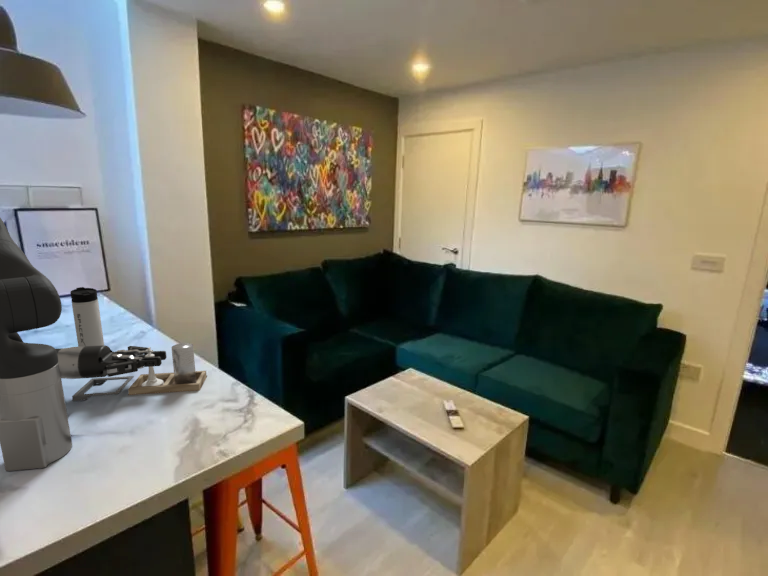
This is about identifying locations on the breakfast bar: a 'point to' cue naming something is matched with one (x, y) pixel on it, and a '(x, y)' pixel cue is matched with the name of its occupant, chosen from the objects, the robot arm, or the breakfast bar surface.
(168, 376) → the wooden divided tray
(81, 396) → the frame
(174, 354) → the steel peg
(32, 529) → the breakfast bar surface
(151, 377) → the chess piece
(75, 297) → the travel mug
